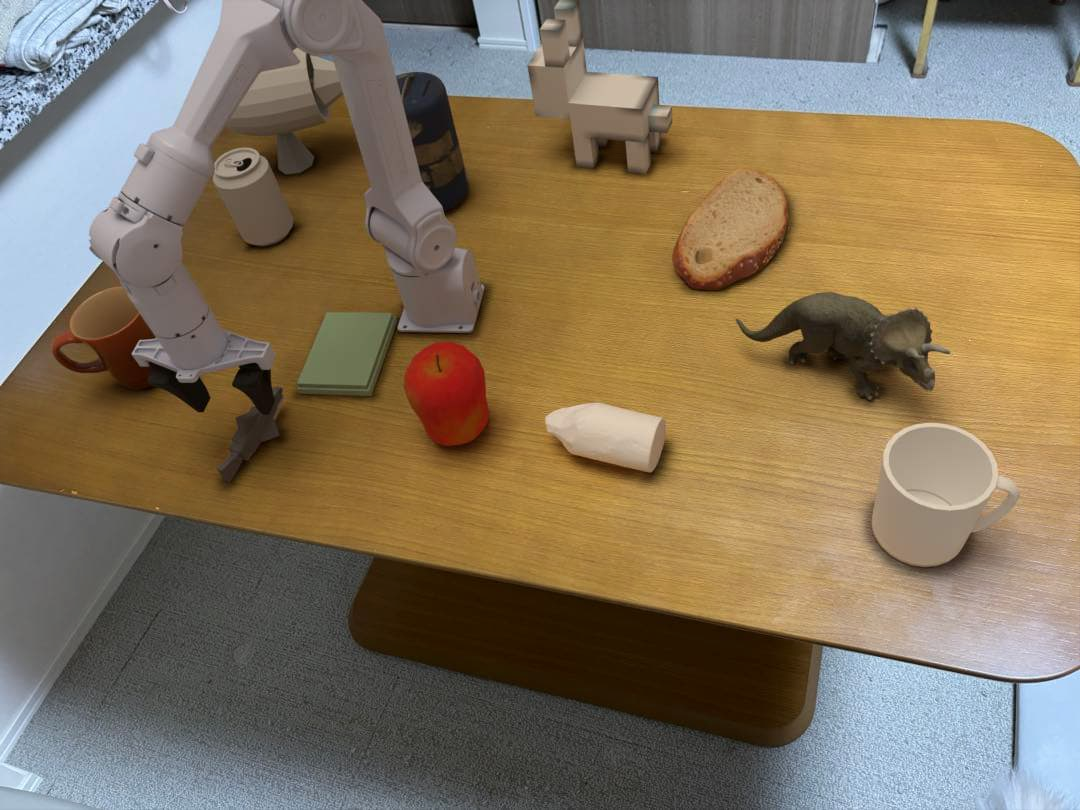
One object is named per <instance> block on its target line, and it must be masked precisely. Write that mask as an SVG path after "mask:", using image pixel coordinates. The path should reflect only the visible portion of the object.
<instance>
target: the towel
mask: <svg viewBox="0 0 1080 810" xmlns="http://www.w3.org/2000/svg"><path fill="white" fill-rule="evenodd" d="M397 325H398V319H397V316H396V315H393V312H349V311H348V312H347V311H346V312H344V311H343V312H341V311H339V312H338V311H335V312H334V311H332V312H331V311H330V312H329V311H327V312H326V313H325V315H324V318H323V320H322V323H321V325H320V327H319V330H318V332H317V334H316V337H315V338H314V341H313V344H312V346H311V349H310V350H309V353H308V355H307V358H306V360H305V362H304V365H303V367H302V370H301V372H300V375H299V377H298V379H297V381H296V385H297V386H296V390H297V392H298V394H300V395H322V396H323V395H326V396H331V395H332V396H352V397H353V396H355V397H356V396H357V397H358V396H359V397H372V395H373V393H374V391H375V390H374V389H375V387H376V384H377V381H378V379H379V375H380V372H381V370H382V367H383V364H384V361H385V359H386V356H387V353H388V350H389V347H390V345H391V341H392V339H393V336H394V332H395V331H396V328H397Z"/></svg>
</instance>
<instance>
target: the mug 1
mask: <svg viewBox="0 0 1080 810" xmlns="http://www.w3.org/2000/svg"><path fill="white" fill-rule="evenodd" d="M69 319H70V320H69V324H68V326H69V329H68V330H67V331H65V332H63V333H61V334H59V335H58V336H56V337H55V338H54V339H53V340H52V341H51V344H50V350H51V351H50V352H51V354H52V356H53V357H54V359H55V360H56V361H57V363H59V364H60V365H61V366H62V367H63V368H66V369H67V370H69V371H72V372H74V373H77V374H78V373H79V374H98V373H100V374H101V373H104V372H109V374H110V375H111V377H112V378H113V379H115V380H116V382H117V383H120V385H122V386H123V387H124V388H127V389H130V390H142V389H143V390H144V389H146V388H150V387H152V386H151V385H150V383H149V382H148V376H149V374H150V372H151V369H150V368H151V366H148V367H142V366H140V365H139V364H138V363H137V361H136V360H135V358H134V357H133V356H132V352H133V350H134V349H135V347H136V345H137V344H138V342H139V340H150V339H156V337H155V335H154V334H153V332H152V331H151V329H150V328H149V326H148V325H147V324H146V322H145V321H144V319H143V318H142V316H141V315H140V313H139V312H138V310H137V309H136V307H135V306H134V304H133V303H132V302H131V300H130V299H129V296H128V294H127V291H126V290H125V289H124V288H123V287H122V285H121V286H113V287H109V288H105V289H103V290H101V291H98V292H96V293H94V294H92V295H91V296H89V297H88V298H86V299H85V300H84V301H83V302H82V303H80V304H79V306H77V308H76V309H74V311H73V313H72V315H71V316H70V318H69ZM70 344H84V345H86V346H87V347H89V348H90V349H91V350H93V351H94V353H95V354H96V355H97V358H95V359H93V360H90V361H86V362H82V361H81V362H80V361H77V360H76V361H75V360H74V359H72V358H70V357H69V356H67V355H66V354H65V353H64V352H63V351H62V350H61V348H62V347H64V346H66V345H70Z"/></svg>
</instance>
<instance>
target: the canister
mask: <svg viewBox="0 0 1080 810" xmlns="http://www.w3.org/2000/svg"><path fill="white" fill-rule="evenodd" d="M396 79H397V83H398V87H399V91H400V95H401V99H402V103H403V107H404V111H405V115H406V119H407V123H408V127H409V131H410V135H411V139H412V143H413V147H414V151H415V155H416V159H417V163H418V167H419V171H420V175H421V179H422V182H423V183H424V184H425V186H426V187H427V188H428V189H429V191H430V192H431V193H432V194H433V195H434V197H435V198H436V199H437V200H438V201H439V203H440V204H441V205H442V207H443V211H444V212H447V211H449V210H452V209H454V208H455V207H456V206H458V205H459V204H461V202H463V200H464V199H465V198H466V196H467V194H468V191H469V178H468V175H467V171H466V166H465V162H464V157H463V153H462V149H461V145H460V142H459V138H458V134H457V130H456V125H455V121H454V118H453V114H452V109H451V105H450V104H451V103H450V100H449V96H448V92H447V88H446V86H445V83H444V82H443V81H442V79H441V78H440V77H439V76H437V75H435V74H432V73H430V72H425V71H410V72H403V73H400V74H397V75H396Z"/></svg>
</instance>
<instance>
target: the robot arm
mask: <svg viewBox="0 0 1080 810" xmlns="http://www.w3.org/2000/svg"><path fill="white" fill-rule="evenodd" d="M387 38H388V37H387V34H386V30H385V27H384V25H383V22H382V20H381V18H380V17H379V16H378V15H377V14H376V13H375V12H374V11H373V10H372V9H371V7H369V6H368V5H367V4H366V3H365V1H363V0H222V2H221V10H220V17H219V23H218V27H217V30H216V31H215V34H214V36H213V38H212V41H211V42H210V45H209V47H208V49H207V51H206V53H205V56H204V58H203V60H202V63H201V65H200V66H199V69H198V71H197V73H196V76H195V77H194V80H193V81H192V83H191V86H190V88H189V90H188V93H187V95H186V97H185V99H184V102H183V103H182V106H181V107H180V110H179V112H178V114H177V116H176V119H175V121H174V123H173V125H171V126H169V127H166V128H163V129H159V130H156V131H154V132H151V134H150V136H149V138H148V140H147V142H146V143H145V144H144V143H143V142H140V143H139V144H138V146H137V147H136V149H135V151H134V153H133V156H134V158H136V159H137V160H136V161H135V164H134V165H133V166H132V167H133V168H132V169H131V171H130V173H129V174H128V177H127V178H126V180H125V182H124V184H123V186H122V188H121V190H120V192H119V193H118V195H117V196H113V197H112V199H111V201H110V202H109V205H108V207H106V208H105V209H102V210H101V211H100V212H99V213H98V214H97V215H96V216H95V218H94V219H93V220H92V222H91V225H90V227H89V230H88V236H89V237H90V239H88V241H89V244H90V246H89V247H88V250H89V251H90V252H91V253H92V254H93V255H94V256H95V257H96V258H98V259H99V260H100V261H102V262H104V264H106V265H107V267H109V268H110V269H111V270H112V271H113V272H114V274H115V275H116V277H117V278H118V280H119V283H120V285H121V286H122V287H123V288H124V289H125V290H126V291H127V294H128V296H129V299H130V300H131V302H132V303H133V304H134V306H135V307H136V309H137V310H138V312H139V313H140V315H141V316H142V318H143V319H144V321H145V322H146V324H147V325H148V326H149V328H150V329H151V331H152V332H153V334H154V335H155V337H156V339H150V340H139V342H138V344H137V345H136V347H135V349H134V350H133V352H132V356H133V357H134V358H135V360H136V361H137V363H138V364H139V365H140V366H142V367H148V366H151V368H150V369H151V372H150V374H149V376H148V382H149V383H150V385H151V386H150V387H155V388H158V389H161V390H163V391H165V392H167V393H170V394H171V395H173V396H175V397H176V398H178V399H179V400H180V401H182V402H184V403H185V404H186V405H187V406H189V407H190V408H192V409H193V410H194V411H196V412H197V413H204V412H205V410H206V409H207V407H208V405H209V402H210V401H211V396H210V395H211V394H210V393H209V391H208V388H207V387H206V385H205V384H204V382H203V380H202V378H201V377H200V376H203V375H207V374H210V373H216V372H219V371H223V370H227V369H232V368H236V367H238V368H239V369H238V370H237V372H236V374H235V376H234V377H233V380H232V383H231V386H232V388H234V389H237V390H239V391H241V392H242V393H243V394H244V395H246V397H248V398H249V400H250V401H251V402H252V404H253V406H255V407H256V408H257V409H258V411H259V412H260V413H261V414H263V415H269V414H270V412H271V409H272V407H273V405H274V403H275V399H274V395H273V390H272V388H273V385H272V366H273V364H274V362H275V359H276V357H277V353H276V351H275V350H274V348H273V346H272V345H271V343H270V342H268V341H258V340H255V339H252V338H249V337H246V336H244V335H241V334H238V333H235V332H233V331H230V330H227V329H225V328H223V327H222V325H221V324H220V322H219V320H218V318H217V317H216V315H215V313H214V311H213V310H212V309H211V307H210V305H209V303H208V302H207V300H206V299H205V296H204V294H202V292H201V290H200V288H199V286H198V284H197V283H196V281H195V280H194V278H193V277H192V274H191V273H190V271H189V269H188V268H187V267H186V266H185V265H184V264H183V263H182V261H183V256H184V255H183V253H184V251H183V246H182V237H183V235H184V231H183V230H184V227H185V225H186V223H187V222H188V220H189V218H190V216H191V214H192V213H193V211H194V209H195V208H196V206H197V203H198V202H199V200H200V198H201V197H202V194H203V193H204V191H205V190H206V188H207V186H208V184H209V182H210V180H211V178H212V177H213V175H214V171H215V165H214V163H215V161H214V157H213V153H212V147H213V145H214V144H215V142H216V141H217V139H218V138H219V136H220V135H221V133H222V132H223V131H224V128H226V126H225V125H226V124H227V122H228V121H229V119H230V118H231V116H232V115H233V113H234V111H235V110H236V108H237V107H238V105H239V104H240V102H241V101H242V99H243V98H244V96H245V95H246V93H247V91H248V90H249V88H250V87H251V85H252V84H253V82H254V81H255V79H256V78H257V76H258V75H259V74H260V73H261V72H263V71H268V70H273V69H278V68H283V67H288V66H293V65H297V64H299V63H300V60H299V59H298V58H297V56H296V55H295V53H294V52H293V50H294V49H296V48H299V49H300V50H302V51H303V52H306V53H308V54H311V55H317V57H320V56H321V57H323V56H324V57H325V56H331V57H332V60H333V61H332V62H334V64H335V68H336V71H337V74H338V78H339V81H340V84H341V88H342V91H343V98H344V101H345V105H346V107H347V111H348V114H349V119H350V120H351V125H352V127H353V131H354V134H355V138H356V141H357V143H358V147H359V151H360V155H361V157H362V160H363V164H364V167H365V171H366V174H367V177H368V178H367V179H368V181H369V185H370V187H369V188H368V189H367V191H365V193H364V194H363V198H364V202H365V205H366V212H365V213H366V214H365V220H364V225H365V229H366V233H367V235H368V236H369V237H370V238H371V239H372V240H373V241H375V242H376V243H378V244H381V245H382V248H383V250H384V253H385V254H386V255H385V256H386V261H387V264H388V267H389V269H390V271H391V274H392V277H393V280H394V283H395V286H396V289H397V292H398V294H399V297H400V300H401V302H402V305H403V310H402V313H401V315H400V318H399V321H398V323H397V326H396V328H397V331H398V332H399V333H451V334H453V333H455V334H456V333H457V334H458V333H459V334H470V333H472V332H473V331H474V328H475V325H476V321H477V318H478V314H479V311H480V307H481V304H482V299H483V296H484V293H485V286H484V285H483V284H482V282H481V277H480V274H479V271H478V266H477V263H476V259H475V256H474V253H473V251H472V250H471V249H466V248H460V247H457V242H458V241H457V240H458V236H457V230H456V229H455V226H454V225H453V224H452V223H451V222H450V221H449V220H448V219H447V217H446V215H445V211H443V207H442V205H441V204H440V203H439V201H438V200H437V199H436V198H435V197H434V195H433V194H432V193H431V192H430V191H429V189H428V188H427V187H426V186H425V184H424V183H423V182H422V179H421V175H420V171H419V167H418V163H417V159H416V155H415V151H414V147H413V143H412V139H411V135H410V131H409V127H408V123H407V119H406V115H405V111H404V107H403V103H402V99H401V95H400V91H399V87H398V83H397V79H396V76H397V75H396V71H395V67H394V63H393V59H392V55H391V51H390V47H389V43H388V39H387Z"/></svg>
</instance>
